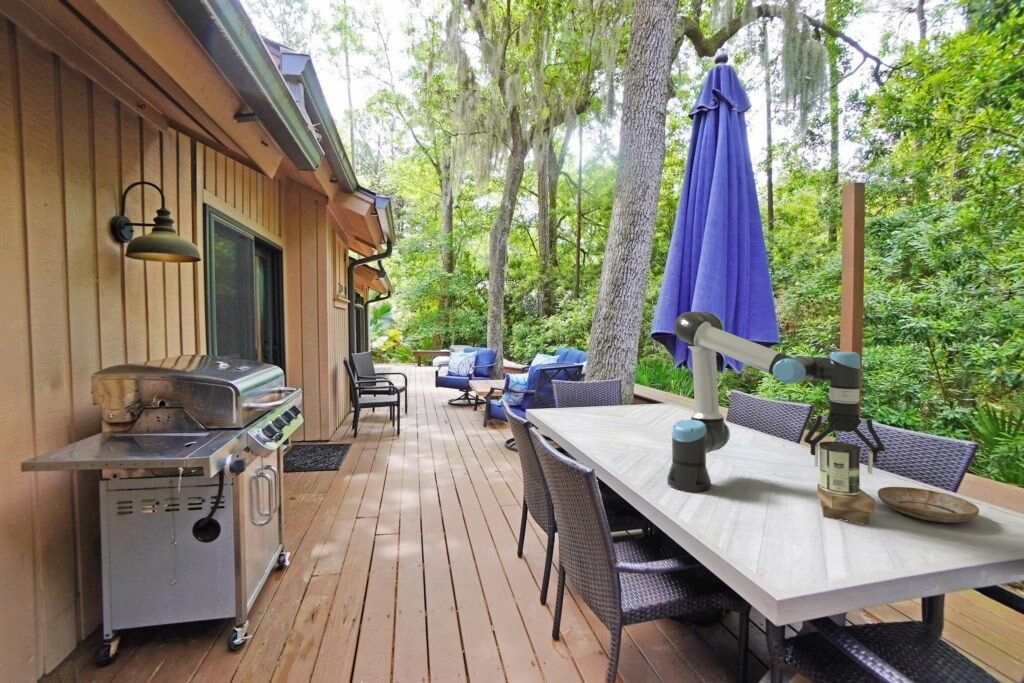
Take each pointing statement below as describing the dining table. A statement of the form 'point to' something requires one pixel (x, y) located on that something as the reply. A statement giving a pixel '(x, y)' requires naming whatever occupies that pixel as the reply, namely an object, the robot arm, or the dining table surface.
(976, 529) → the dining table surface
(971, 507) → the wooden bowl
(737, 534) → the dining table surface
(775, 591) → the dining table surface
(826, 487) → the coffee can
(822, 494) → the top block
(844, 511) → the lower block
